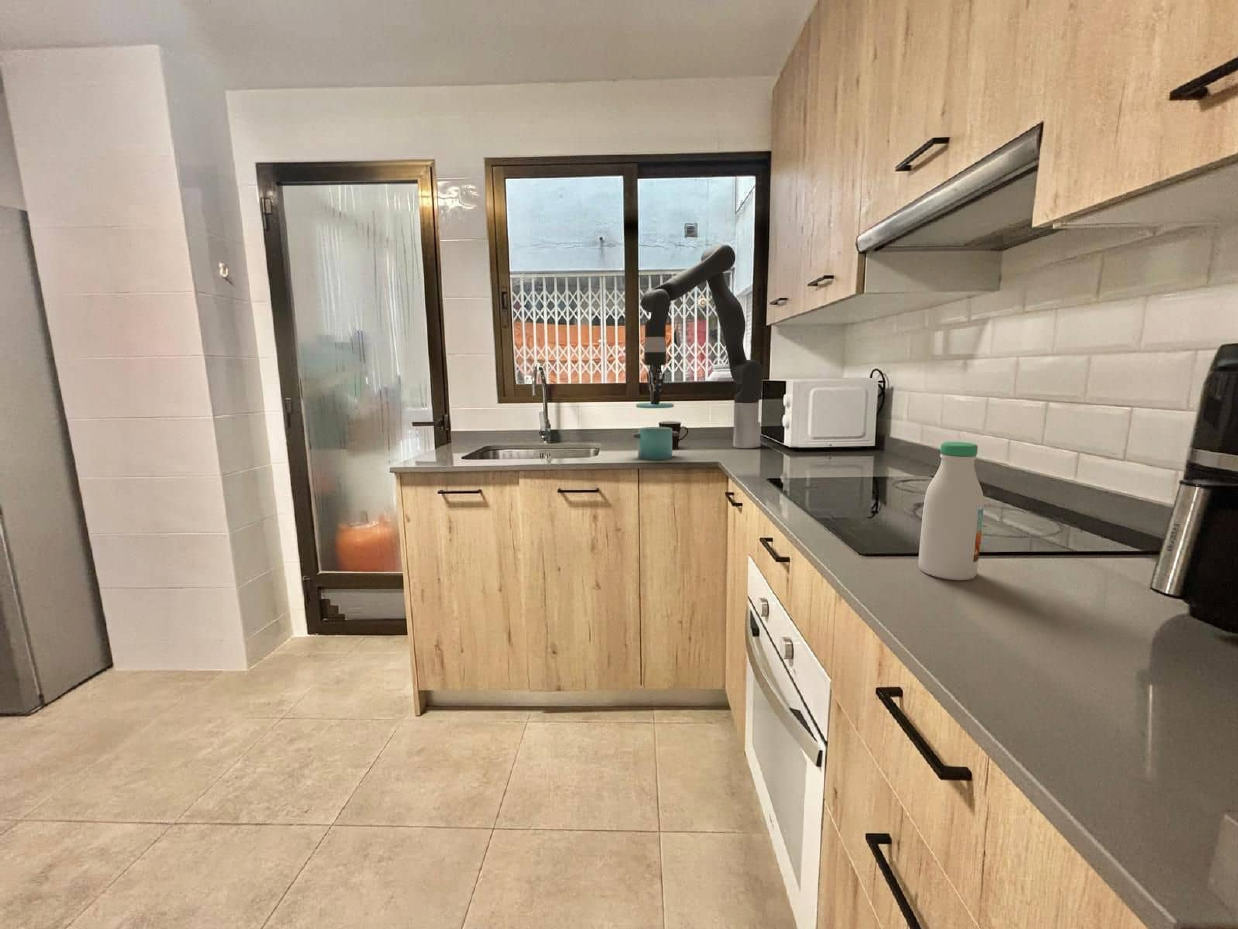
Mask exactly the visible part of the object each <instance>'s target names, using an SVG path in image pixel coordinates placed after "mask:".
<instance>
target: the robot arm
mask: <svg viewBox="0 0 1238 929" xmlns="http://www.w3.org/2000/svg"><path fill="white" fill-rule="evenodd" d="M735 262H736V252H735V251H734V249H733V247H731V245H729V244H725V243H724V244H720V245H719V244H718V245H715V246H713V247H710V248H708V249H706V250H704V251H703V252H702V254H701V257H700V262H698V263H697V264H695V265H693V266H691V267H689V268H685V270H682V271H680V272H679V273H677V274H675V275H674V276H672V277H671V278H669V279H668V280H666V281H665V282H663V283H661V284H659V285H658V286H655V287H653V288H651V289H649V290H647V291H646V292H645V293H644V294H643V295H642V297H641V300H640V306H641V307H642V308H641V309H642V310H644V311H645V312H647V313H650V314H651V315H650V318H648V319H647V320H646V322H645V323H644V324H645V325H644V343H643V345H644V346H643V349H644V350H643V351H644V355H643V357H644V359H643V364H644V366H649V368H648V372H646V374H645V375H646V381H647V389H648V390H649V391H650V392H649V393H650V398H649V400H650V402H651V389H653V391H655V392H653V402H655V403H661V391H662V390H663V388H664V383H665V376H666V375H665V373H664V372H663V371H662V366H666V365H667V340H666V339H667V338H666V337H667V336H666V335H667V332H666V328H667V327H666V326H667V325H666V324H667V321H668V316H669V313H670V308H671V302H673V301H676V300H679V299H680V298H681V297H683V296H685V295H686V294H688V293H689V292H690V291H692V290H693V289H695V288H696V287H698V286H699V285H701V284H703V283H704V282H705V281H706V283H707V285H708V287H709V290H710V293H711V296H712V300H713V303H714V307H715V310H716V314H717V319H718V322H719V326H720V327H719V328H720V330H721V332H722V338H723V340H724V341H723V342H724V345H725V349H726V354H727V358H728V366H729V372H730V376H731V378H732V380H733V381H734V383H736V384H739V385H741V388H740V391H739V392H738V393H736V394H735V395H734V400H733V401H734V402H733V404H734V405H733V440H732V442H733V444H732V446H733V448H738V449H756V448H760V447H761V446H760V444H761V422H760V421H759V414H760V413H759V412H760V411H759V408H760V397H761V394H762V392H763V391H762V390H763V377H764V375H763V374H764V372H763V370H764V369H763V366H762V364H761V362H760V361H758V360H755V359H747V357H746V352H745V349H744V340H745V339H744V338H745V333H746V326H747V323H746V317H745V314H744V310H743V307H742V304H741V302H740V301H739V300H738V298H737V297H736V296H735V294H734V293H733V291H731V290H730V289H729V287H728V284H727V282H726V280H725V276H724V273H725V272H727V271H729V270H731V269H732V267H733V266H734V264H735Z"/></svg>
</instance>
